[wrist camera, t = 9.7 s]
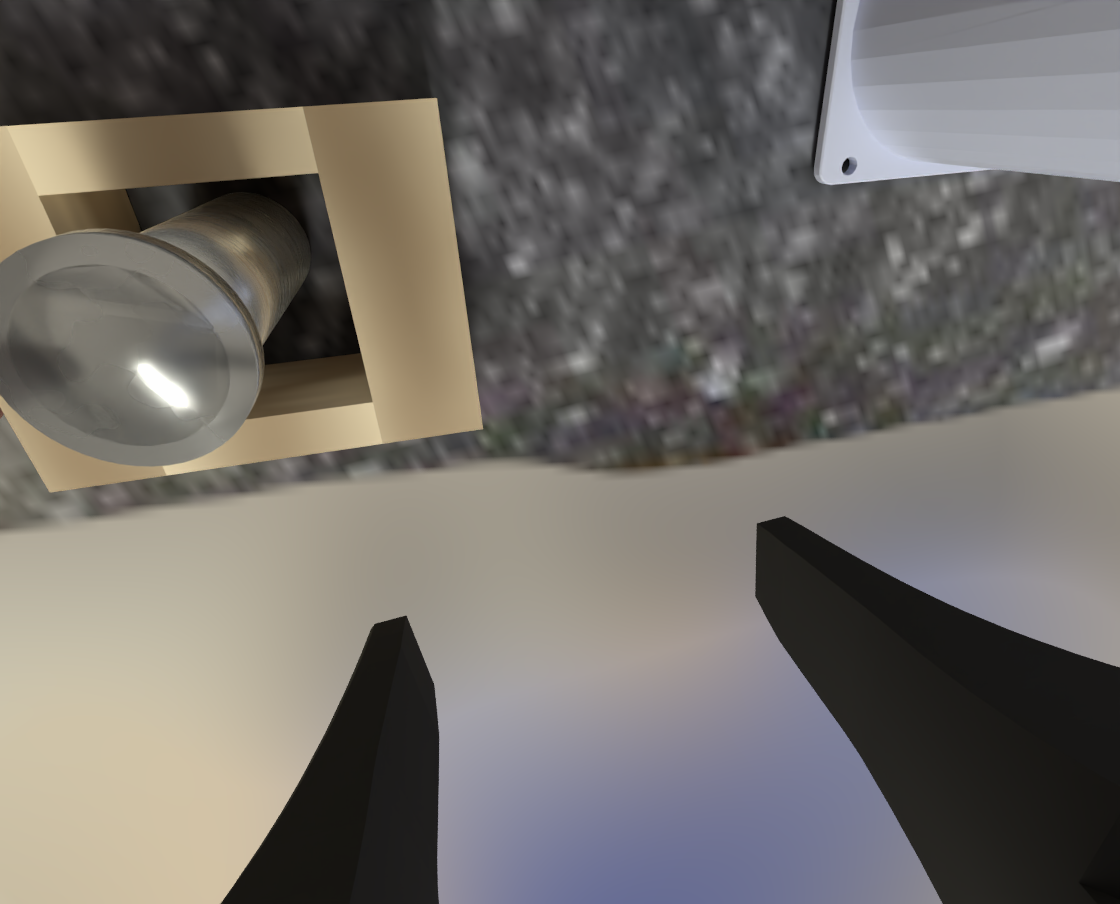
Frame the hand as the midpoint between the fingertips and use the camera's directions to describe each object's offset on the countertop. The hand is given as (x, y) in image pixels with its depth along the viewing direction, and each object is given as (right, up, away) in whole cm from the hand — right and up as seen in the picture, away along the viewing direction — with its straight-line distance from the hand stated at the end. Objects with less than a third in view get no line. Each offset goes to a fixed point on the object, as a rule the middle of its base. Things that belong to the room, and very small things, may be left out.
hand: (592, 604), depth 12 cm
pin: (-9, +9, +5) cm, 14 cm away
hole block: (-9, +8, +5) cm, 13 cm away
